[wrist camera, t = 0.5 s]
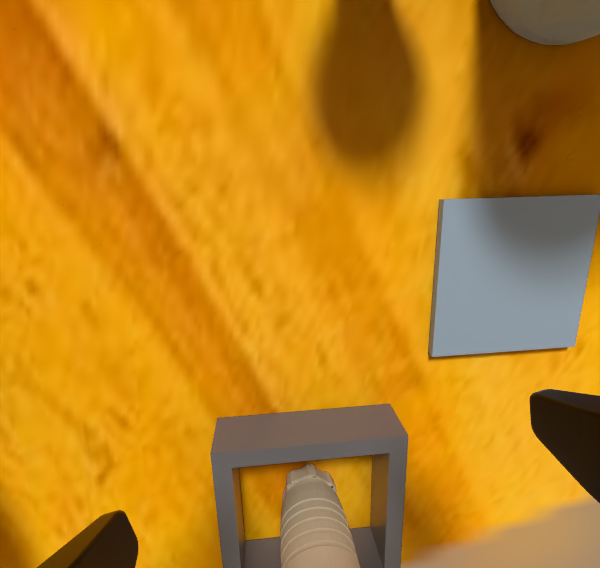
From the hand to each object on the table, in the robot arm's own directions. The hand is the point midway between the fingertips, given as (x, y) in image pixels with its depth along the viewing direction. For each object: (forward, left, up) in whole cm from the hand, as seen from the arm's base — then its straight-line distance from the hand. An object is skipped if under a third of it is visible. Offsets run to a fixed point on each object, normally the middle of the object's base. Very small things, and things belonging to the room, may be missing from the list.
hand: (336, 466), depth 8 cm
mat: (+13, 0, -13) cm, 18 cm away
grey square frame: (+1, -13, -13) cm, 18 cm away
